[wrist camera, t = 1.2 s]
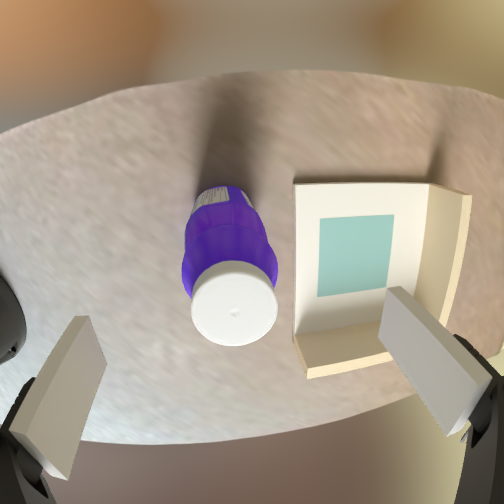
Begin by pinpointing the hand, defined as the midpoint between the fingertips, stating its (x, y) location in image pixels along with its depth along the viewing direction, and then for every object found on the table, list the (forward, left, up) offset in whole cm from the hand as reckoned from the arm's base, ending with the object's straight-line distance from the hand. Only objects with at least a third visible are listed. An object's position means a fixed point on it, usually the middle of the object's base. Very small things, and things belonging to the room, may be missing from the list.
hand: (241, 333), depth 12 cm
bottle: (0, 0, -19) cm, 19 cm away
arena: (+16, -6, -19) cm, 25 cm away
